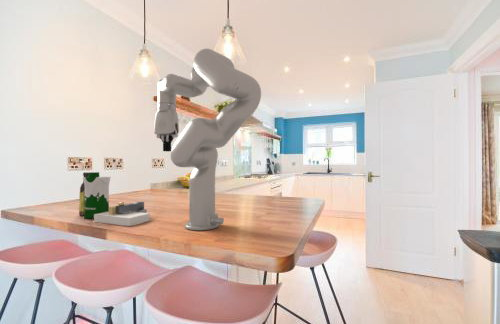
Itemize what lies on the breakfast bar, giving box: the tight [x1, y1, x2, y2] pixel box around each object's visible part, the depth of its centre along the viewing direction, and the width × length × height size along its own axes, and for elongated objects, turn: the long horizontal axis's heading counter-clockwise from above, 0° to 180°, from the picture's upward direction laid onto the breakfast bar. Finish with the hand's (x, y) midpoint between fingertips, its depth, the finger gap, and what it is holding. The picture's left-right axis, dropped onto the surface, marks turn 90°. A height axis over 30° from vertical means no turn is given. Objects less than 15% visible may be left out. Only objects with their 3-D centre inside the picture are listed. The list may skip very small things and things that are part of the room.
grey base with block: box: [93, 205, 151, 227], centre depth 101 cm, size 20×10×6 cm, turn 67°
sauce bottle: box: [78, 171, 91, 216], centre depth 115 cm, size 6×6×20 cm
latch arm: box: [115, 201, 145, 213], centre depth 105 cm, size 12×4×4 cm, turn 154°
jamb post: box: [130, 208, 148, 213], centre depth 108 cm, size 5×4×3 cm
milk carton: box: [82, 172, 111, 219], centre depth 109 cm, size 9×9×20 cm
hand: (167, 151), depth 105 cm, fingers closed
